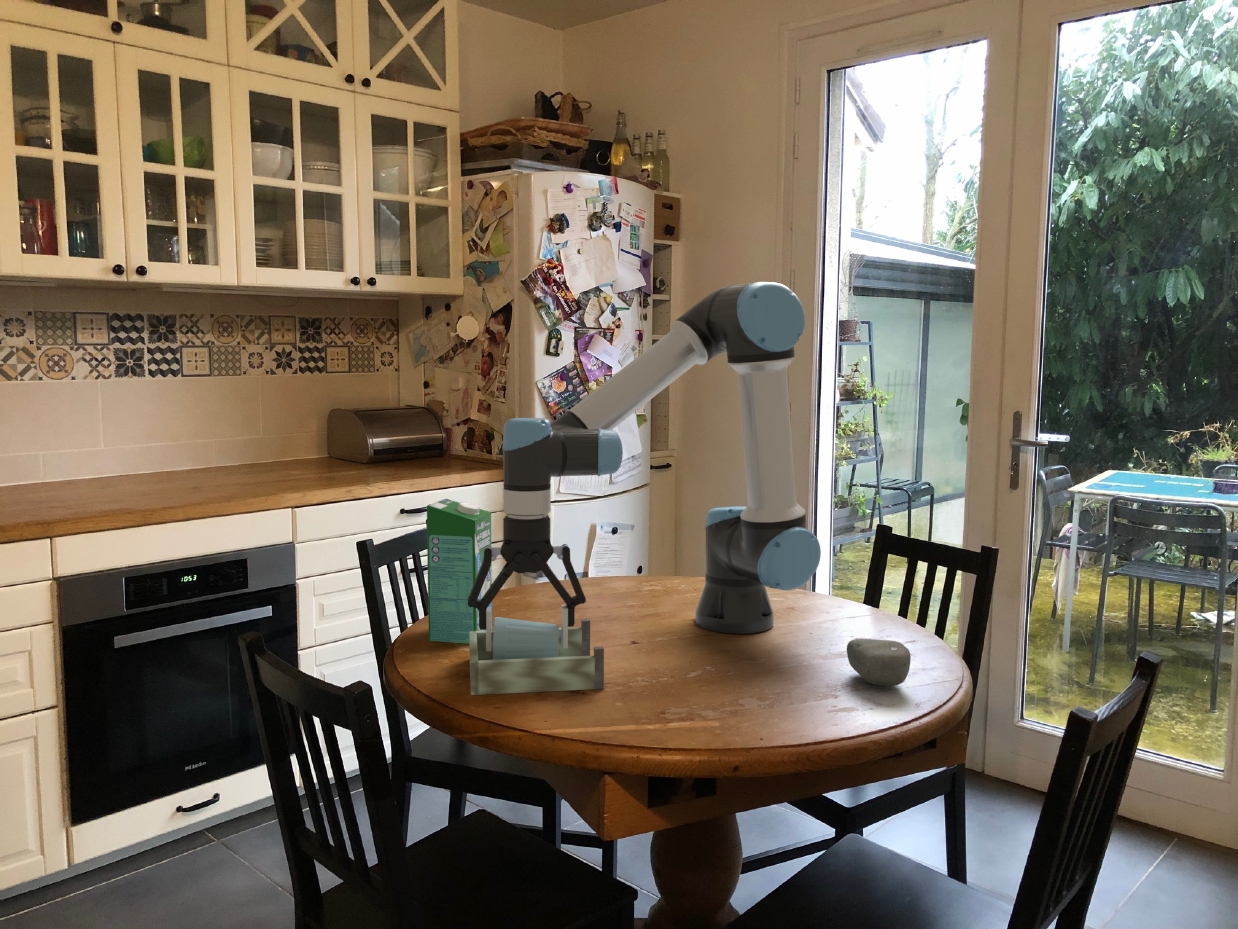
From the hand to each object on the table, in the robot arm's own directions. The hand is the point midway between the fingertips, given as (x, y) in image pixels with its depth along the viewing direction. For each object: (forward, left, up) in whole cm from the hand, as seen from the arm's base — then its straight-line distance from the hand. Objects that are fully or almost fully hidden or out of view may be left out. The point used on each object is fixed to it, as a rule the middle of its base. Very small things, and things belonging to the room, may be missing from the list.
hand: (526, 647), depth 158 cm
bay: (-1, 0, -4) cm, 5 cm away
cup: (-4, -1, -4) cm, 5 cm away
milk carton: (+11, -23, -5) cm, 26 cm away
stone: (-56, +9, -6) cm, 57 cm away
